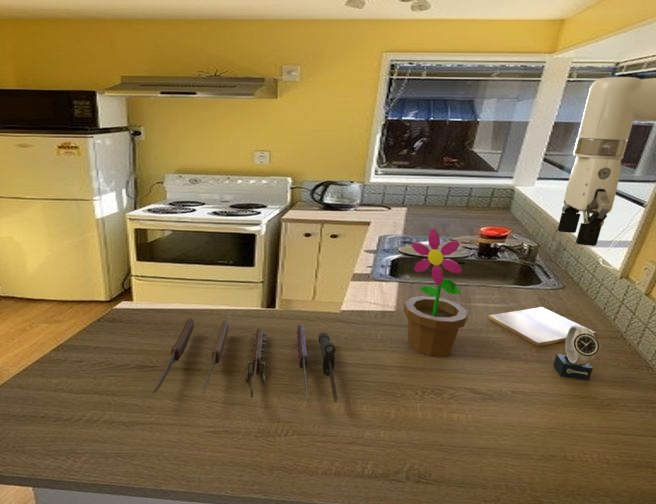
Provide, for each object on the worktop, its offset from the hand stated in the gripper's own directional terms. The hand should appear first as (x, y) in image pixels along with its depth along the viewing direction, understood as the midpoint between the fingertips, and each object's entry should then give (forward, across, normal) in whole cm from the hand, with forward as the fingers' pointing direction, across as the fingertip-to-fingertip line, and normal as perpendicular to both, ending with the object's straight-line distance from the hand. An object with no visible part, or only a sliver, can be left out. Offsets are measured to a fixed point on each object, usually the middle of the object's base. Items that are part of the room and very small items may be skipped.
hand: (575, 238), depth 84 cm
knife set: (+32, -19, +61) cm, 71 cm away
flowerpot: (+32, +5, +23) cm, 39 cm away
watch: (+31, +2, -7) cm, 32 cm away
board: (+31, +25, -7) cm, 41 cm away
